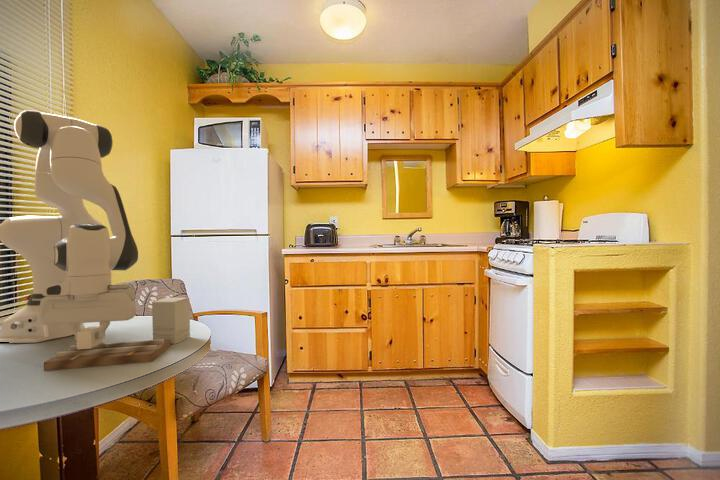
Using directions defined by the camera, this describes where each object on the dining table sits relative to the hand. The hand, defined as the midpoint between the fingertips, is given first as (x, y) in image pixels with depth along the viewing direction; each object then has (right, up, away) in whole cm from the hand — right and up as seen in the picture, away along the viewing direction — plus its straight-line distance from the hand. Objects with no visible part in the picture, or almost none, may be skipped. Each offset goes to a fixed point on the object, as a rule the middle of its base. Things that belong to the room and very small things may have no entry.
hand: (90, 339), depth 82 cm
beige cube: (0, -3, 0) cm, 3 cm away
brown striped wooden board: (+5, -5, +1) cm, 7 cm away
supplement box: (+12, -5, +15) cm, 20 cm away
